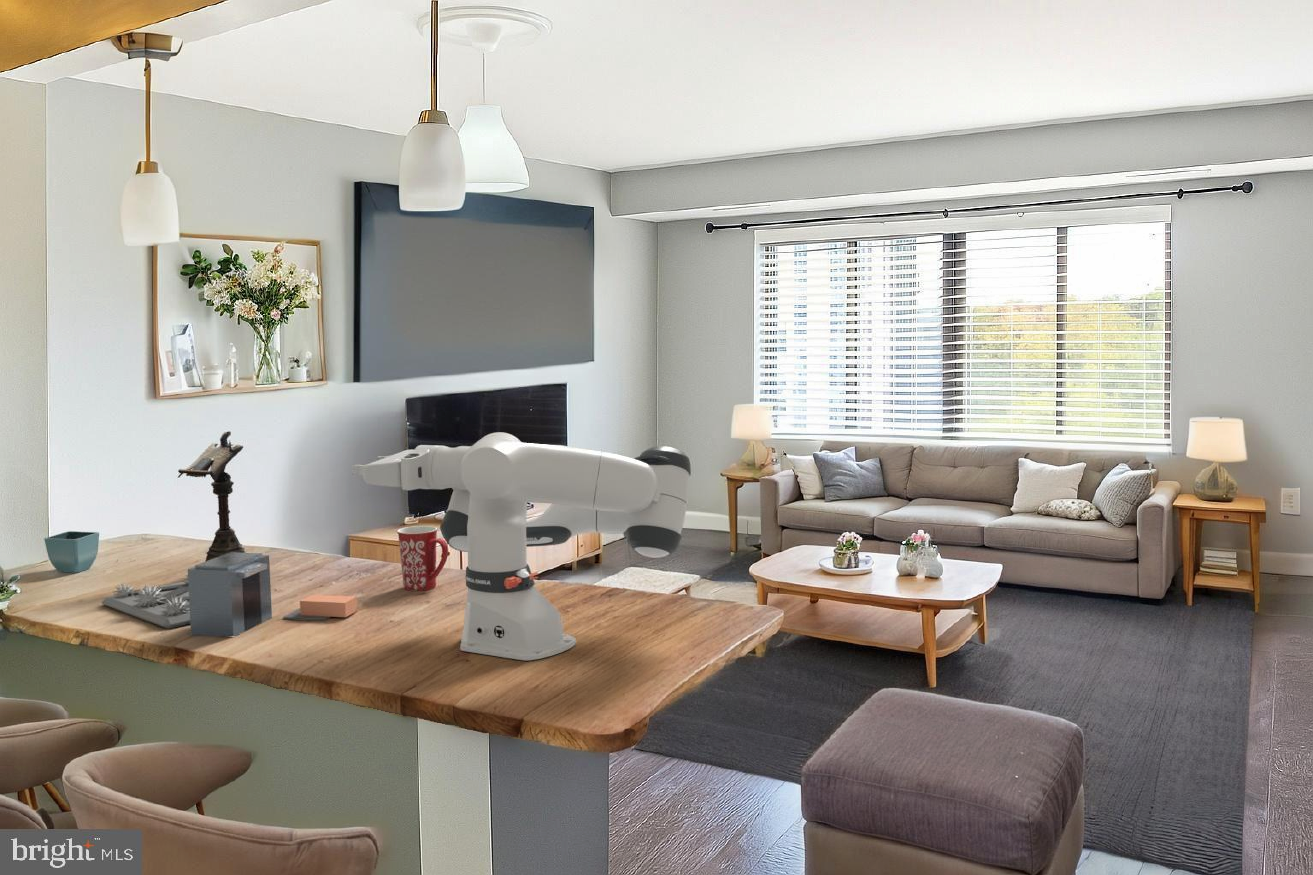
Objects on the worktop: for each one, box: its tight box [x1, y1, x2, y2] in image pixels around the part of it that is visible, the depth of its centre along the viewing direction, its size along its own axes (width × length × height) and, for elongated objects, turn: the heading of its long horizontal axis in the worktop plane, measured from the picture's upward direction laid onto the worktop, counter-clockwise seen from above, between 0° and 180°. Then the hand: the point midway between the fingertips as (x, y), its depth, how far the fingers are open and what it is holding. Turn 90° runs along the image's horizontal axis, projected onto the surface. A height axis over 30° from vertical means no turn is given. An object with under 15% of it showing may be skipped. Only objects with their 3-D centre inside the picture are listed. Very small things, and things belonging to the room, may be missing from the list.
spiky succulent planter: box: [101, 574, 191, 630], centre depth 226 cm, size 30×22×7 cm
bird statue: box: [177, 431, 246, 562], centre depth 251 cm, size 17×13×35 cm
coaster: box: [282, 608, 331, 622], centre depth 220 cm, size 9×9×1 cm
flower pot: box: [43, 530, 100, 574], centre depth 259 cm, size 9×9×9 cm
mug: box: [396, 525, 449, 592], centre depth 240 cm, size 13×9×14 cm
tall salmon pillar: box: [299, 594, 358, 618], centre depth 219 cm, size 3×5×10 cm
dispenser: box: [187, 552, 273, 637], centre depth 210 cm, size 10×14×14 cm
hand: (364, 464), depth 216 cm, fingers open, 8 cm apart
